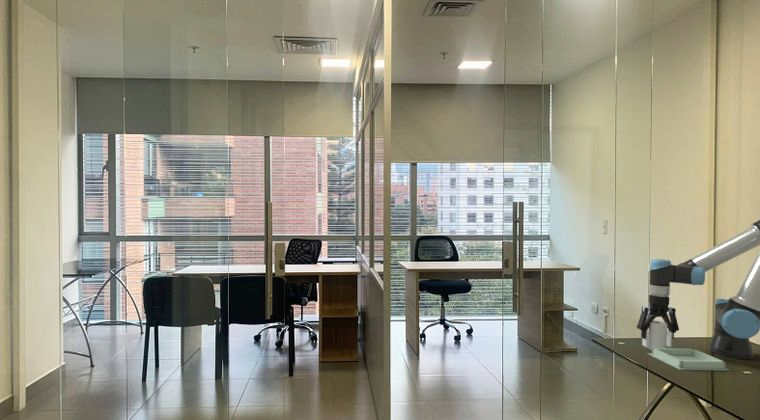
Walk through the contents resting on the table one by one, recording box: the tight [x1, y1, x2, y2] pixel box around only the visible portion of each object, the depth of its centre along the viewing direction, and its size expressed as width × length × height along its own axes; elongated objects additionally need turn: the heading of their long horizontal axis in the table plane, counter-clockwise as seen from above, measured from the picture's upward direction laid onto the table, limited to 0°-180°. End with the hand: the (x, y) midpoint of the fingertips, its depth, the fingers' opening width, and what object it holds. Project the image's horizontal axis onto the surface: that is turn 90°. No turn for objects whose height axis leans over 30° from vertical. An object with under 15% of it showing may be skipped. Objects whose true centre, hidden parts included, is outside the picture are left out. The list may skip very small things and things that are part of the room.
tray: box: [647, 347, 731, 372], centre depth 177 cm, size 20×18×3 cm
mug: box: [647, 320, 668, 352], centre depth 193 cm, size 10×7×12 cm, turn 147°
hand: (657, 346), depth 193 cm, fingers open, 10 cm apart
